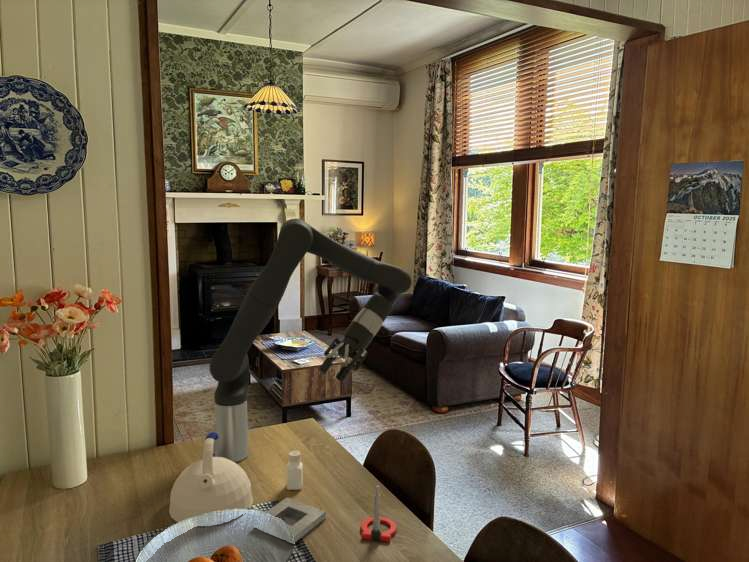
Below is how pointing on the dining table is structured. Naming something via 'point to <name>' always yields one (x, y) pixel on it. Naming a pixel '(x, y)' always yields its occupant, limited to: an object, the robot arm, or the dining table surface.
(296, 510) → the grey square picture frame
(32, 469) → the dining table surface
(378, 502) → the tow hook
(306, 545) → the dining table surface
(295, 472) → the salt shaker
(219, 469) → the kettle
